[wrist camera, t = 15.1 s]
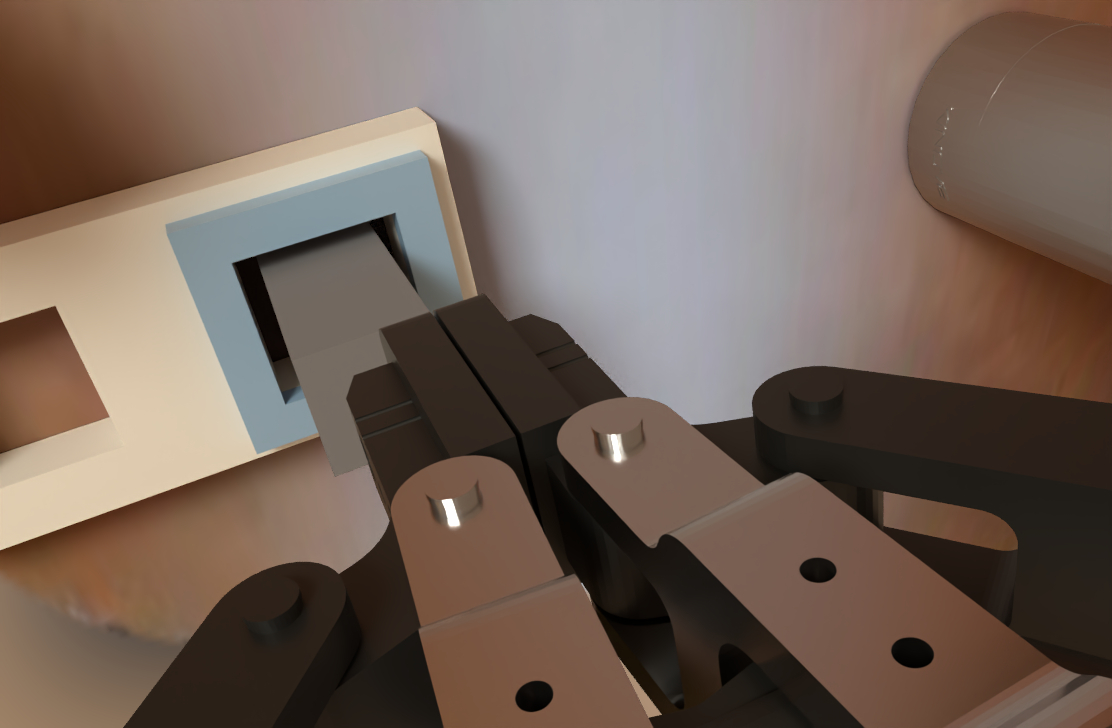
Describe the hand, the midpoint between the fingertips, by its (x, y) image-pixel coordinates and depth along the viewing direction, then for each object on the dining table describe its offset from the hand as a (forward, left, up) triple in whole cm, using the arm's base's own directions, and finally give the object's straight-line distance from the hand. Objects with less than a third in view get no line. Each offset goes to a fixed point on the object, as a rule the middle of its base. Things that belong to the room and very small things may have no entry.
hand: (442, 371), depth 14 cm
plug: (0, +8, -23) cm, 24 cm away
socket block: (+6, +8, -23) cm, 25 cm away
